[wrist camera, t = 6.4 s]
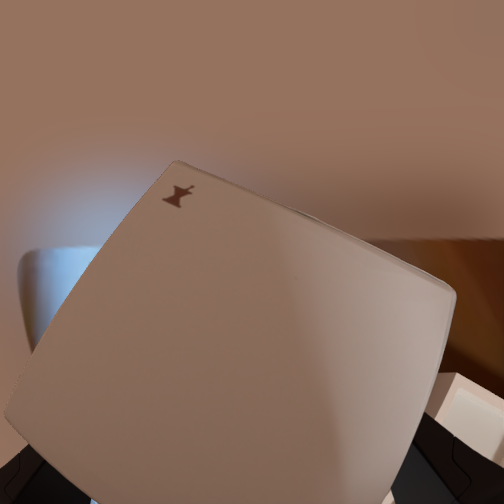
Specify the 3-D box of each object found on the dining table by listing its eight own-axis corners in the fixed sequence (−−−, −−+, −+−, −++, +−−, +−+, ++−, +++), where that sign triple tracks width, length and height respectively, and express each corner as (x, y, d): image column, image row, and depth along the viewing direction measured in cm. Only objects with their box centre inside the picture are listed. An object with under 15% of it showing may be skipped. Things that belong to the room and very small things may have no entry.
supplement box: (147, 416, 15) (-12, 407, 4) (213, 310, 18) (175, 145, 7) (265, 480, 14) (318, 605, 2) (326, 367, 17) (466, 279, 6)
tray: (453, 533, 14) (468, 543, 12) (355, 507, 17) (365, 522, 14) (519, 418, 18) (539, 420, 15) (437, 373, 20) (456, 372, 18)
